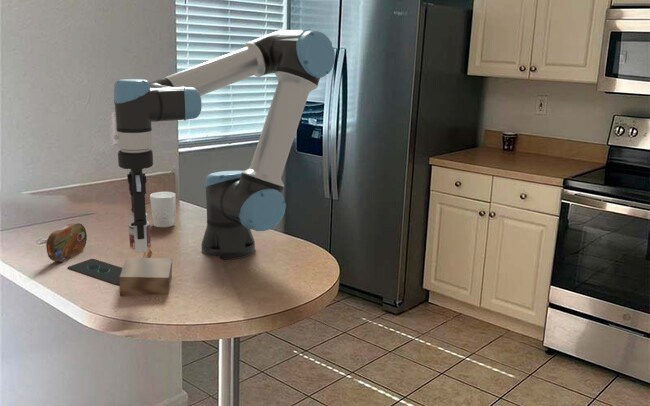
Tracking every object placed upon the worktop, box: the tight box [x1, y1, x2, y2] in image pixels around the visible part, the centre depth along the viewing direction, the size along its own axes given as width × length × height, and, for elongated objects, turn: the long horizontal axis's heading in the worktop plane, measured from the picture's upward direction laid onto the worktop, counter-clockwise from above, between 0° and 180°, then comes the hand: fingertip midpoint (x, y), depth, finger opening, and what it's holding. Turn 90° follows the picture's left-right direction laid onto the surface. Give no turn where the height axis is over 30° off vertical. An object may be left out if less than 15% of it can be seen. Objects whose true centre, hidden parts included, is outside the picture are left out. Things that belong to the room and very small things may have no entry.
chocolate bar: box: [142, 248, 153, 258], centre depth 167 cm, size 3×12×2 cm, turn 9°
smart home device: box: [67, 258, 123, 286], centre depth 156 cm, size 8×2×20 cm
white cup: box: [149, 191, 176, 228], centre depth 196 cm, size 8×8×10 cm
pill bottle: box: [128, 212, 152, 252], centre depth 142 cm, size 5×5×8 cm
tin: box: [45, 222, 88, 263], centre depth 167 cm, size 15×3×8 cm, turn 168°
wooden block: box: [119, 256, 173, 297], centre depth 147 cm, size 11×11×5 cm
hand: (140, 247), depth 143 cm, fingers closed on pill bottle, 5 cm apart
